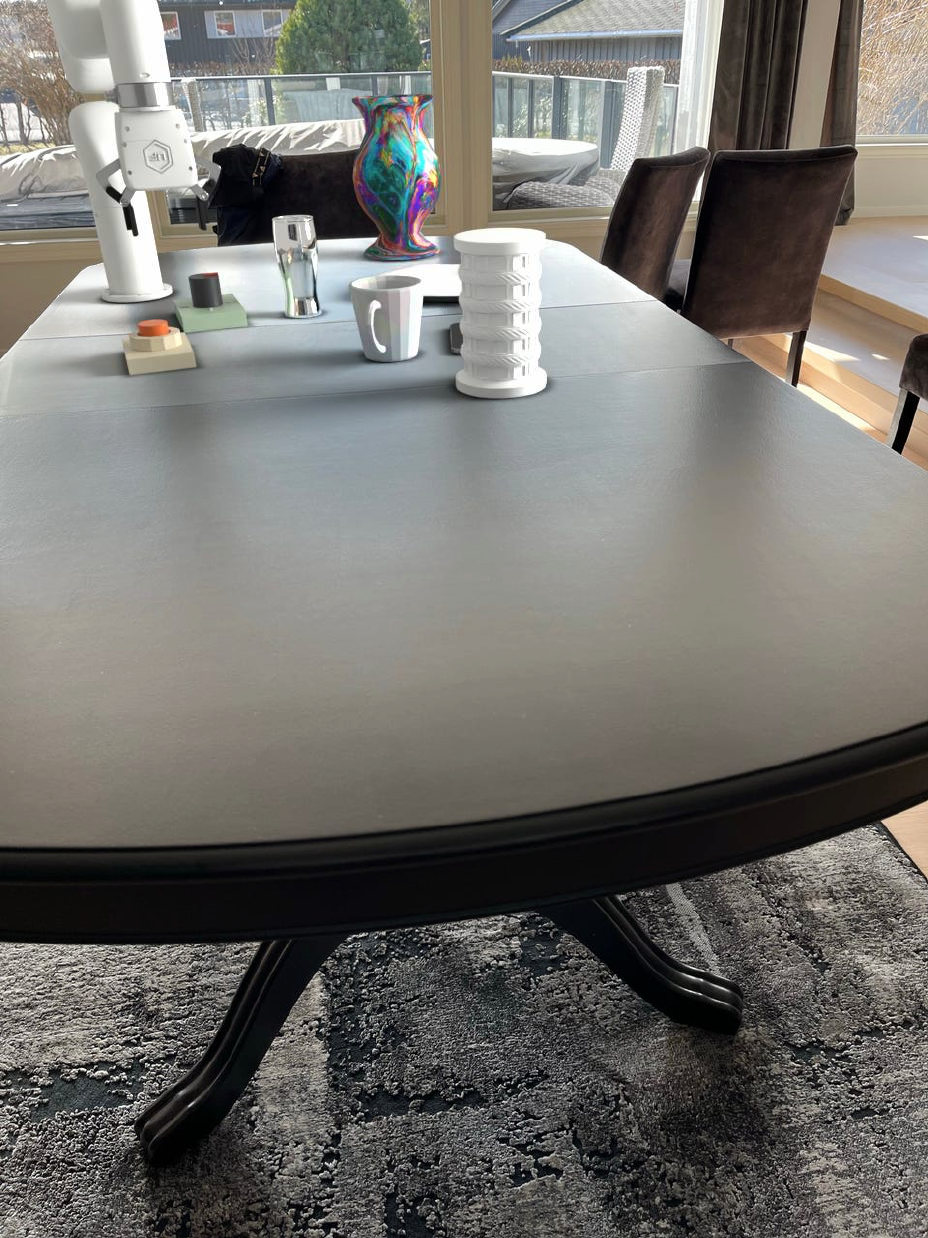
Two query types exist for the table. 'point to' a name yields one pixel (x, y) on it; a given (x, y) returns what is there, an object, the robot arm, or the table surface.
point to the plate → (434, 280)
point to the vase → (396, 174)
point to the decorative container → (500, 312)
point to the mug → (388, 315)
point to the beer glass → (297, 263)
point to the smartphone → (456, 338)
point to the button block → (158, 352)
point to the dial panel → (210, 315)
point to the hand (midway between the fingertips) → (169, 232)
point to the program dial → (205, 290)
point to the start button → (153, 328)
